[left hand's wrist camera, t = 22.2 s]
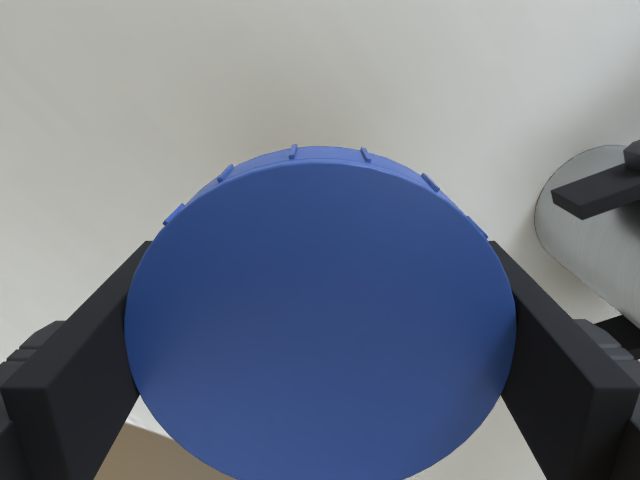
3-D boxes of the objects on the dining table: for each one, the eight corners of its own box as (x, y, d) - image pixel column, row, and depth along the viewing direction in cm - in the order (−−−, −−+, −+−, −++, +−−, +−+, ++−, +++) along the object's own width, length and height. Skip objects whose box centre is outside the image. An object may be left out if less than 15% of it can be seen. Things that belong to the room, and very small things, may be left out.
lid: (87, 209, 11) (43, 236, 9) (455, 92, 10) (483, 97, 8) (224, 469, 14) (211, 526, 12) (514, 401, 13) (544, 452, 11)
